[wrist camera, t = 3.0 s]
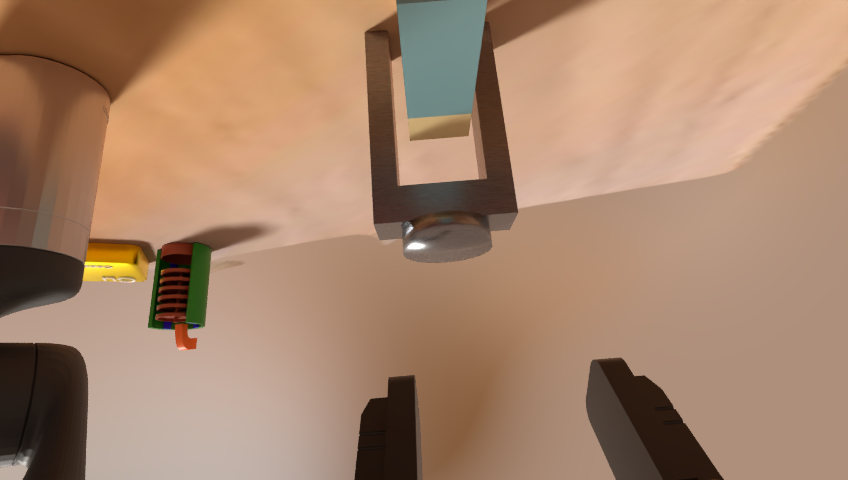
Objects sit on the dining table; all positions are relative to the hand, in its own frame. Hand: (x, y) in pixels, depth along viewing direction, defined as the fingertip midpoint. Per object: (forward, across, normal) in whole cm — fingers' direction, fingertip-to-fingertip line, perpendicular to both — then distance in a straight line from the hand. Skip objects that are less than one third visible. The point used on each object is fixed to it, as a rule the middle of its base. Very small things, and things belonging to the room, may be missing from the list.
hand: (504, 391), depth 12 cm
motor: (+73, -50, -30) cm, 94 cm away
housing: (+36, 0, +7) cm, 37 cm away
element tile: (+73, -67, -29) cm, 103 cm away
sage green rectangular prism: (+29, 0, +14) cm, 32 cm away
